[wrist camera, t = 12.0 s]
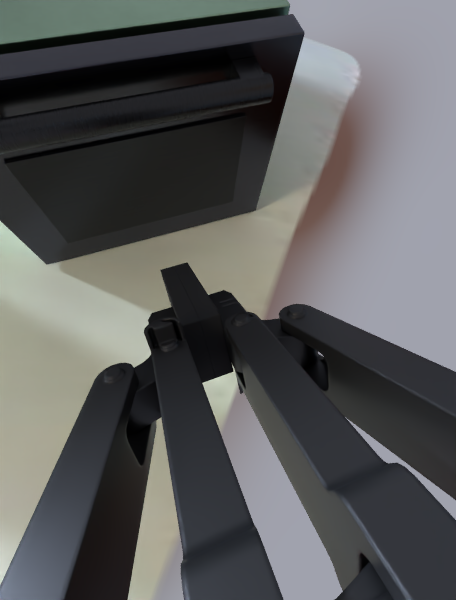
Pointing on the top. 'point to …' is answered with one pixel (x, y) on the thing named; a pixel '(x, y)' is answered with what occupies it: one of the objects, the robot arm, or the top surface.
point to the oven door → (140, 132)
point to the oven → (116, 19)
